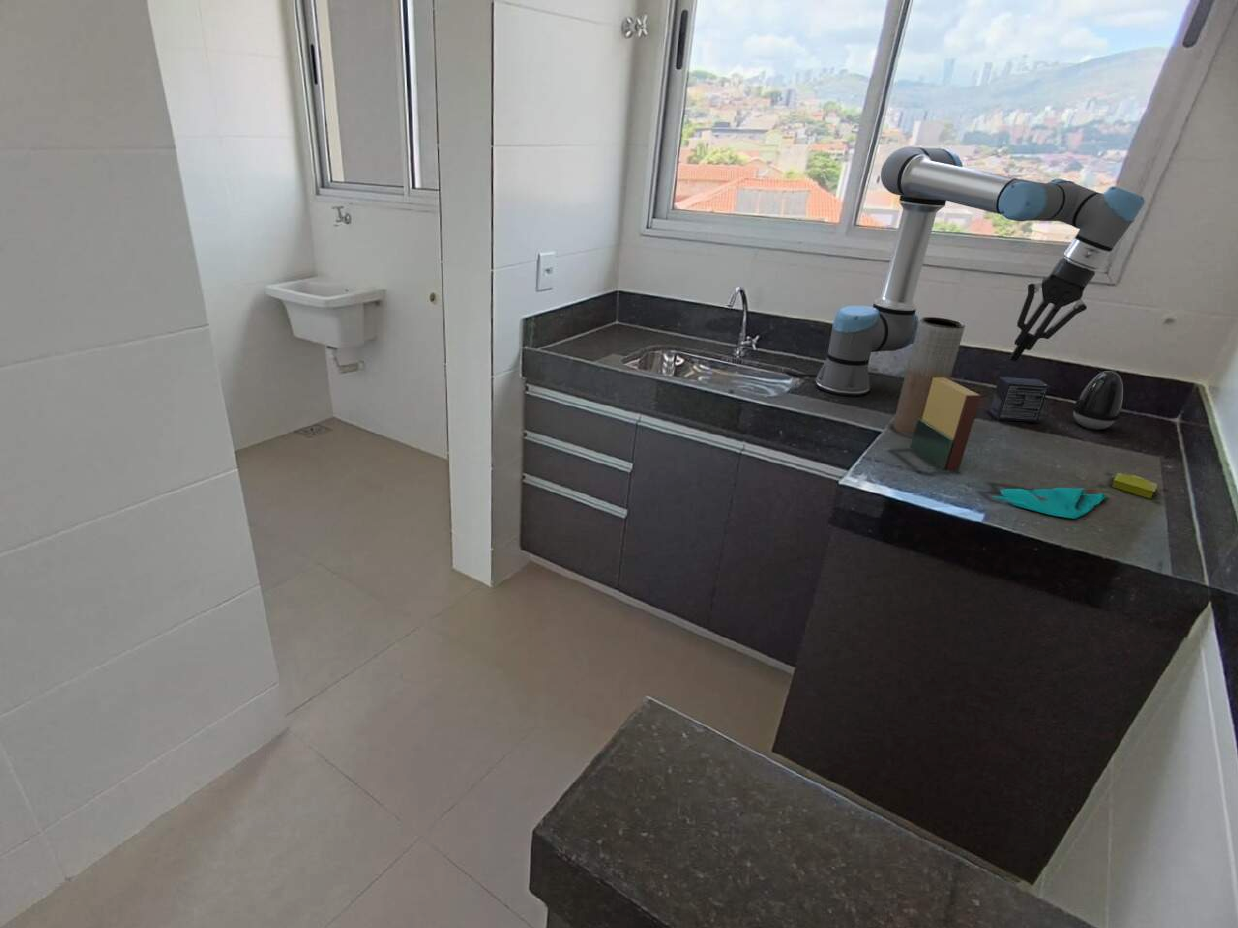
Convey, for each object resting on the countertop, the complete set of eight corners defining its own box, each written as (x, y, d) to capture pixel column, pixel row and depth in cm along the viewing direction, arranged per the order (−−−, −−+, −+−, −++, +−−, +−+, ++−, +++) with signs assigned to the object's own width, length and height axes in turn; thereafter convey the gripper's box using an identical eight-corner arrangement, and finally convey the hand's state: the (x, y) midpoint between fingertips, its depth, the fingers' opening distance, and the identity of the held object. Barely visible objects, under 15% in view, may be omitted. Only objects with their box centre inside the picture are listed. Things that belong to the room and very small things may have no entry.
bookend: (921, 474, 143) (931, 440, 140) (891, 450, 154) (899, 419, 150) (943, 473, 144) (953, 439, 141) (911, 450, 155) (920, 418, 151)
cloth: (998, 513, 129) (1002, 503, 128) (972, 481, 141) (975, 472, 140) (1137, 526, 127) (1142, 516, 126) (1098, 493, 139) (1102, 483, 138)
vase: (907, 439, 161) (937, 327, 149) (884, 423, 169) (911, 316, 157) (942, 438, 163) (974, 327, 151) (918, 422, 171) (947, 316, 159)
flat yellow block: (1102, 486, 142) (1107, 474, 141) (1109, 474, 149) (1114, 462, 147) (1158, 503, 136) (1164, 491, 135) (1163, 489, 143) (1169, 478, 141)
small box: (1026, 414, 182) (1039, 378, 177) (1037, 423, 176) (1051, 386, 171) (987, 411, 182) (998, 375, 178) (997, 420, 177) (1009, 382, 172)
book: (945, 473, 144) (968, 396, 136) (912, 450, 155) (932, 377, 147) (957, 472, 145) (981, 395, 137) (924, 449, 156) (945, 377, 148)
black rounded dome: (1116, 426, 177) (1138, 372, 170) (1109, 436, 170) (1132, 380, 163) (1072, 415, 183) (1092, 363, 176) (1064, 424, 176) (1085, 370, 169)
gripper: (1049, 254, 141) (985, 351, 154) (1112, 279, 137) (1041, 376, 150) (1048, 249, 147) (986, 343, 160) (1108, 273, 143) (1040, 367, 156)
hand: (1012, 359), depth 155 cm, fingers closed
